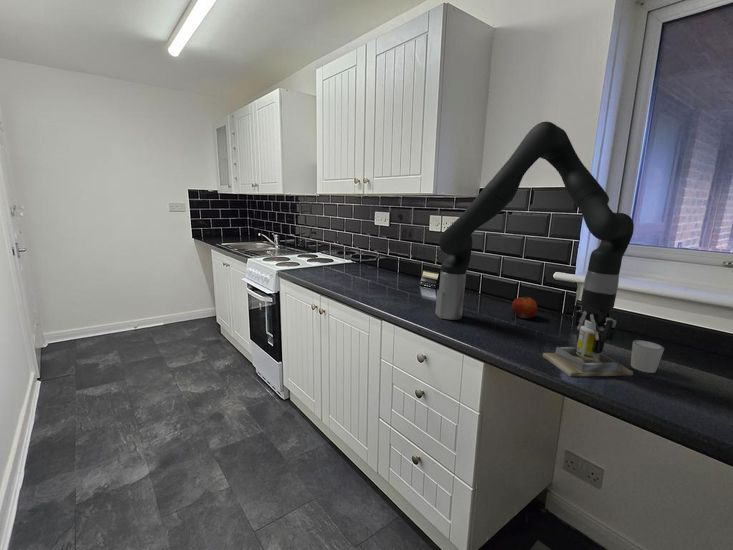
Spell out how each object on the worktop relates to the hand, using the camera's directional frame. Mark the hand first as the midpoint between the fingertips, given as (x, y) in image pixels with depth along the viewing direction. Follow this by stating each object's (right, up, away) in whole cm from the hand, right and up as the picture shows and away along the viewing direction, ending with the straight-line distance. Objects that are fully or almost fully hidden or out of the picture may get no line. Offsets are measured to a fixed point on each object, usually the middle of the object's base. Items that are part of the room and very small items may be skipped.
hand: (588, 347), depth 99 cm
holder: (0, -5, +1) cm, 5 cm away
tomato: (0, +4, +41) cm, 42 cm away
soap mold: (+2, -88, +33) cm, 94 cm away
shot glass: (+16, -6, +1) cm, 17 cm away
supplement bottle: (0, -3, +1) cm, 3 cm away
